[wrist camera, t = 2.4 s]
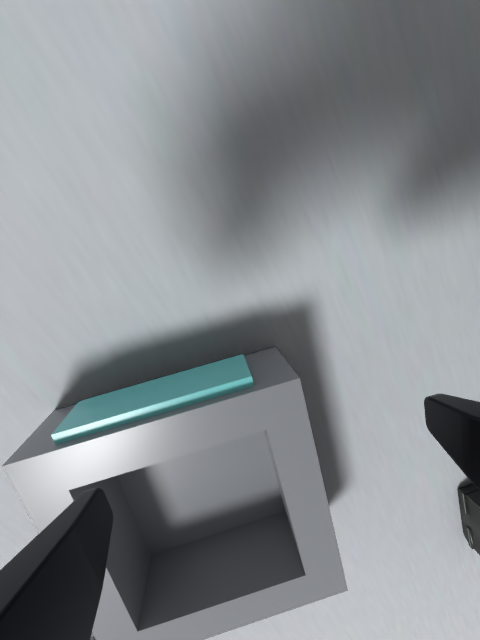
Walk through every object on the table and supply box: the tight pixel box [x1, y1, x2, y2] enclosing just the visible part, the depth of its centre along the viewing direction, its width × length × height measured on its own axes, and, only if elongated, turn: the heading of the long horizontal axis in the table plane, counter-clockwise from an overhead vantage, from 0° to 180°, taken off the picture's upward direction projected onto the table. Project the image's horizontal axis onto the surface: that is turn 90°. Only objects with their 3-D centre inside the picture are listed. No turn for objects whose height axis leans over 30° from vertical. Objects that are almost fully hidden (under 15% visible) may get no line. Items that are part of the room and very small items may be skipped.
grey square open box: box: [2, 347, 348, 640], centre depth 17 cm, size 13×14×4 cm
